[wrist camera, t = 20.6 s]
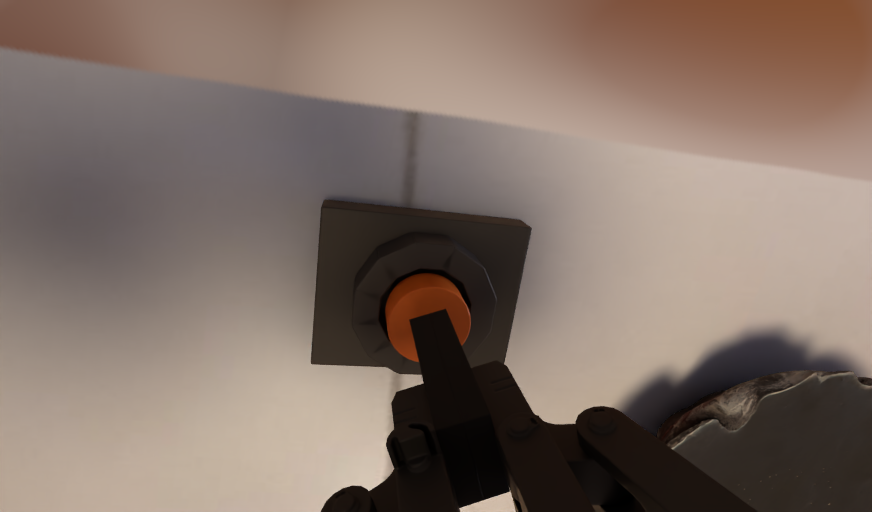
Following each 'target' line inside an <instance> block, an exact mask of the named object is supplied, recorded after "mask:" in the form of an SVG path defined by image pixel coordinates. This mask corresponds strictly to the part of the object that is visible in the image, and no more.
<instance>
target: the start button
mask: <svg viewBox="0 0 872 512" xmlns="http://www.w3.org/2000/svg"><path fill="white" fill-rule="evenodd" d="M443 309H446V310H447V312H448V315H449V317H450V319H451V322H452V324H453V327H454V329H455V331H456V334H457V336H458V338H459V341H460V343H461V345H463V344H464V342H465V341H466V339H467V337H468V334H469V331H470V326H471V317H470V312H469V309H468V307H467V305H466V303H465V301H464V299H463V297H462V296H461V294H460V292H459V290H458V289H457V287H456V286H455V285H454V284H453V283H452V282H451V281H450V280H449V279H447V278H445V277H443V276H441V275H438V274H434V273H419V274H415V275H412V276H409V277H407V278H405V279H404V280H402V281H401V282H400V283H398V284H397V285H396V286H395V287H394V289H393V290H392V291H391V293H390V295H389V297H388V299H387V302H386V307H385V314H386V322H387V330H388V336H389V339H390V341H391V343H392V345H393V347H394V348H395V349H396V350H397V351H398V352H399V353H400V354H401V355H403V356H404V357H406V358H408V359H410V360H413V361H416V362H419V360H418V356H417V351H416V347H415V343H414V338H413V334H412V330H411V325H410V321H409V319H412V318H416V317H419V316H423V315H426V314H429V313H433V312H436V311H439V310H443Z"/></svg>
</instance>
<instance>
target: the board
mask: <svg viewBox="0 0 872 512" xmlns="http://www.w3.org/2000/svg"><path fill="white" fill-rule="evenodd" d="M657 438H658V439H659V440H660V441H662V442H663V443H665V444H666V445H667V446H669V447H670V448H671V449H673V450H674V451H676V452H677V453H678V454H680V455H681V456H682V457H684V458H685V459H686V460H688V461H689V462H691V463H692V464H693V465H695V466H696V467H697V468H699V469H700V470H702V471H703V472H704V473H706V474H707V475H708V476H710V477H711V478H713V479H714V480H715V481H717V482H718V483H719V484H721V485H722V486H723V487H725V488H726V489H728V490H729V491H730V492H732V493H733V494H734V495H736V496H737V497H739V498H740V499H741V500H743V501H744V502H745V503H747V504H748V505H750V506H751V507H752V508H754V509H755V510H756V511H758V512H872V379H871V378H864V377H859V378H857V376H856V375H854V372H851V371H836V372H826V371H812V370H804V371H788V372H780V373H776V374H771V375H767V376H763V377H760V378H757V379H754V380H750V381H747V382H744V383H741V384H738V385H736V386H734V387H732V388H730V389H728V390H727V391H721V392H715V393H713V394H710V395H707V396H706V397H703V398H702V399H701V400H700V401H698V402H697V403H695V404H693V406H690V407H689V408H688V409H682V411H681V410H680V411H679V412H677V413H675V414H674V415H672V416H671V417H669V418H668V419H667V420H666V421H665V422H664V424H662V428H659V430H658V433H657Z"/></svg>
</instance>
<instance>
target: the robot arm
mask: <svg viewBox="0 0 872 512" xmlns="http://www.w3.org/2000/svg"><path fill="white" fill-rule="evenodd" d="M409 321H410V325H411V330H412V334H413V338H414V343H415V347H416V351H417V356H418V360H419V364H420V369H421V373H422V377H423V382H424V384H421V385H417V386H414V387H411V388H408V389H404V390H401V391H398V392H396V394H395V396H394V399H393V401H392V413H393V422H394V430H393V431H392V432H391V433H390V435H389V436H388V438H387V443H386V447H387V450H388V452H389V455H390V458H391V461H392V464H393V466H394V470H393V472H392V474H391V475H390V476H389V477H388V478H387V479H386V480H385V481H384V482H382V483H381V484H380V485H378V486H377V487H375V488H373V489H372V490H370V491H368V490H367V489H365V488H363V487H362V486H350V487H346V488H343V489H341V490H340V491H338V492H336V493H335V494H333V495H332V496H331V497H330V498H329V499H328V500H327V501H326V503H325V505H324V506H323V508H322V510H321V512H460V509H459V508H461V507H464V506H467V505H470V504H473V503H476V502H479V501H482V500H485V499H488V498H491V497H494V496H498V495H501V494H504V493H507V492H510V491H511V493H512V497H513V501H514V505H515V509H516V512H758V511H756V510H755V509H754V508H752V507H751V506H750V505H748V504H747V503H745V502H744V501H743V500H741V499H740V498H739V497H737V496H736V495H734V494H733V493H732V492H730V491H729V490H728V489H726V488H725V487H723V486H722V485H721V484H719V483H718V482H717V481H715V480H714V479H713V478H711V477H710V476H708V475H707V474H706V473H704V472H703V471H702V470H700V469H699V468H697V467H696V466H695V465H693V464H692V463H691V462H689V461H688V460H686V459H685V458H684V457H682V456H681V455H680V454H678V453H677V452H676V451H674V450H673V449H671V448H670V447H669V446H667V445H666V444H665V443H663V442H662V441H660V440H659V439H658V438H656V437H655V436H654V435H652V434H651V433H649V432H648V431H647V430H645V429H644V428H643V427H641V426H640V425H639V424H637V423H636V422H634V421H633V420H632V419H630V418H629V417H628V416H626V415H625V414H623V413H622V412H620V411H618V410H616V409H614V408H610V407H605V406H600V407H592V408H589V409H586V410H584V411H583V412H582V413H581V414H579V415H578V417H577V420H576V424H564V425H560V424H551V423H547V422H544V421H543V420H542V419H541V418H540V417H539V416H537V415H535V414H534V413H533V412H532V410H531V408H530V406H529V404H528V403H527V401H526V399H525V397H524V396H523V394H522V392H521V390H520V388H519V387H518V385H517V383H516V381H515V380H514V378H513V376H512V374H511V372H510V371H509V369H508V367H507V366H506V365H504V364H502V363H501V362H499V361H497V360H495V361H492V362H489V363H485V364H482V365H479V366H476V367H472V368H471V367H470V364H469V362H468V360H467V357H466V355H465V353H464V350H463V348H462V345H461V343H460V341H459V338H458V336H457V334H456V331H455V329H454V327H453V324H452V322H451V319H450V317H449V315H448V312H447V310H446V309H443V310H439V311H436V312H433V313H429V314H426V315H423V316H419V317H416V318H412V319H409ZM509 488H510V490H509Z"/></svg>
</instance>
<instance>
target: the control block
mask: <svg viewBox="0 0 872 512" xmlns="http://www.w3.org/2000/svg"><path fill="white" fill-rule="evenodd" d="M531 230H532V228H531V227H530V226H528V225H527V224H525V223H524V222H523V221H521V220H517V219H508V218H498V217H488V216H479V215H469V214H460V213H450V212H441V211H431V210H421V209H412V208H402V207H393V206H383V205H374V204H364V203H354V202H345V201H335V200H324V201H323V204H322V207H321V218H320V233H319V248H318V263H317V278H316V293H315V308H314V323H313V338H312V352H311V364H320V365H346V366H373V367H388V368H389V369H391V370H393V371H395V372H396V373H399V374H417V375H422V373H421V369H420V364H419V362H416V361H413V360H410V359H408V358H406V357H404V356H403V355H401V354H400V353H399V352H398V351H397V350H396V349H395V348H394V347H393V345H392V343H391V341H390V339H389V336H388V330H387V322H386V314H385V307H386V302H387V299H388V297H389V295H390V293H391V291H392V290H393V289H394V287H395V286H396V285H397V284H398V283H400V282H401V281H402V280H404V279H405V278H407V277H409V276H412V275H415V274H419V273H434V274H438V275H441V276H443V277H445V278H447V279H449V280H450V281H451V282H452V283H453V284H454V285H455V286H456V287H457V289H458V290H459V292H460V294H461V296H462V297H463V299H464V301H465V303H466V305H467V307H468V309H469V312H470V317H471V326H470V331H469V334H468V337H467V339H466V341H465V342H464V344H463V345H462V348H463V350H464V353H465V355H466V357H467V360H468V362H469V364H470V367H471V368H472V367H476V366H479V365H482V364H485V363H489V362H492V361H495V360H497V361H499V362H501V363H502V364H504V362H505V357H506V352H507V347H508V342H509V337H510V332H511V327H512V323H513V318H514V313H515V308H516V303H517V298H518V293H519V288H520V284H521V279H522V274H523V269H524V264H525V259H526V254H527V249H528V245H529V240H530V235H531Z"/></svg>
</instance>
